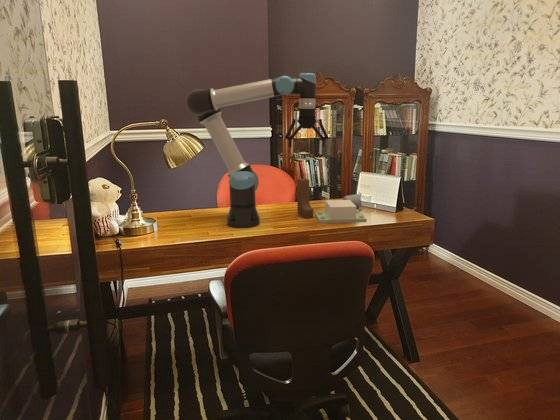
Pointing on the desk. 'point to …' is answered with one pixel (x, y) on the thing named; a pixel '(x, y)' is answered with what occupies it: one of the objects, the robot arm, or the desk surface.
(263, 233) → the desk surface
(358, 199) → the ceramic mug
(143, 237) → the desk surface
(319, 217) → the tower base
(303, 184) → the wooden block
